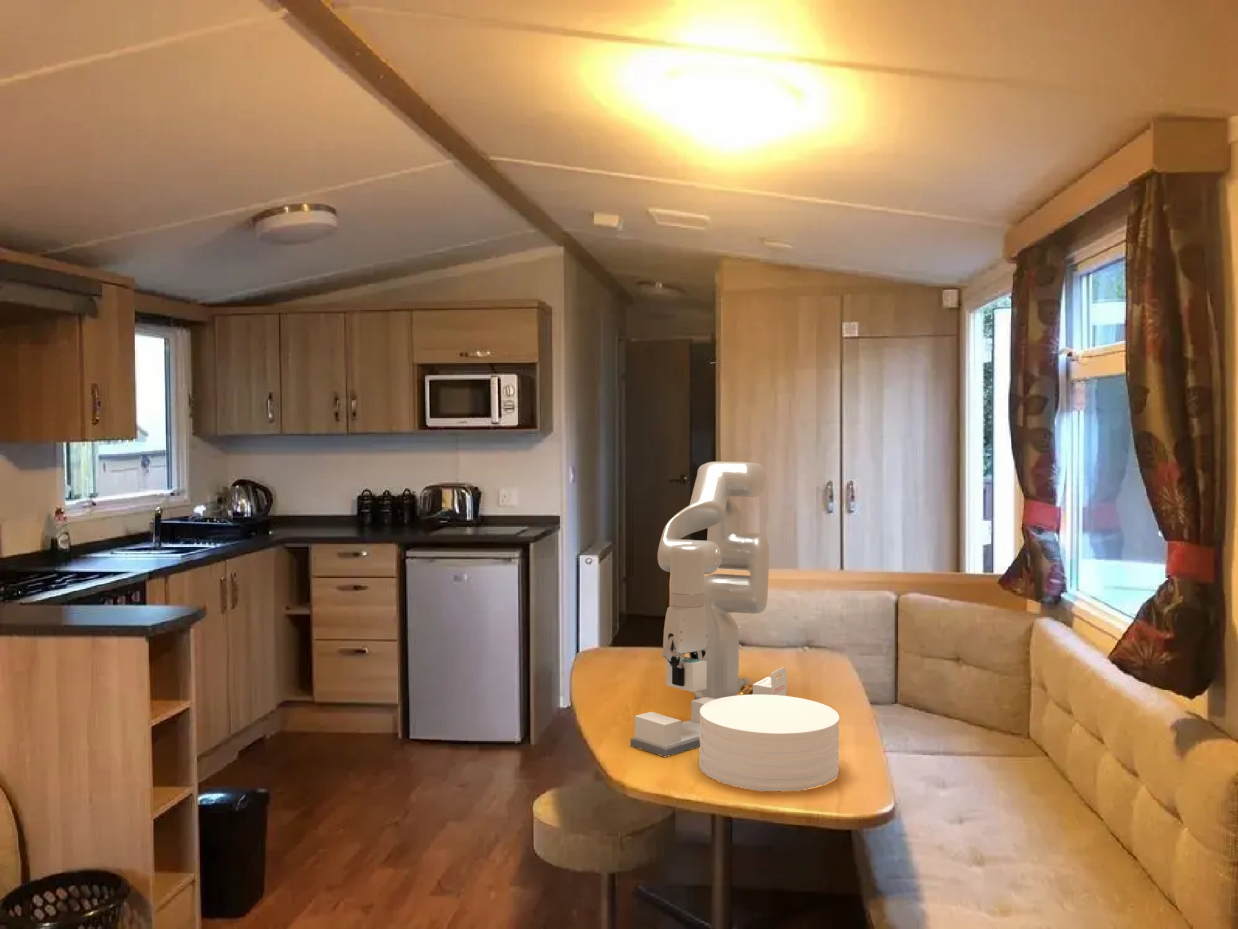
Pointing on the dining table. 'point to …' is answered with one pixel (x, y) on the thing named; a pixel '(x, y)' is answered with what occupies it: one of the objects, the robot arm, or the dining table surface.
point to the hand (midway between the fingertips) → (686, 682)
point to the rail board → (668, 731)
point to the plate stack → (769, 742)
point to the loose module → (690, 674)
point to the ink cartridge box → (772, 684)
